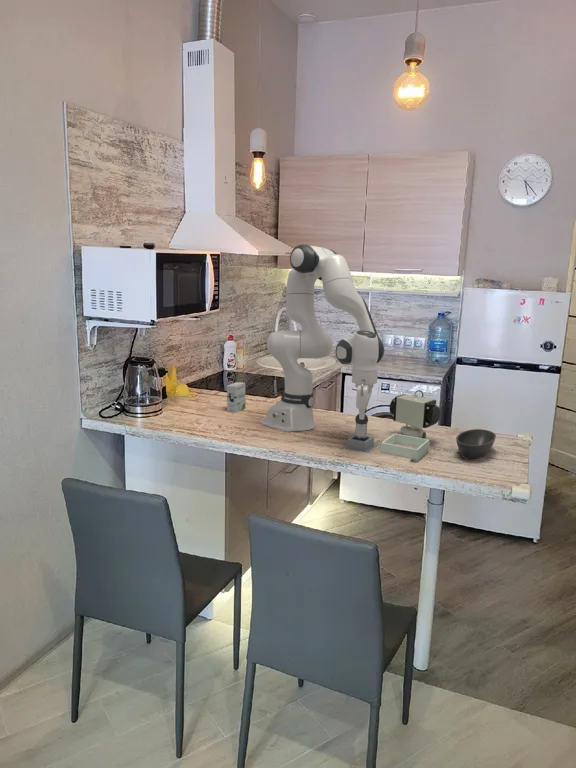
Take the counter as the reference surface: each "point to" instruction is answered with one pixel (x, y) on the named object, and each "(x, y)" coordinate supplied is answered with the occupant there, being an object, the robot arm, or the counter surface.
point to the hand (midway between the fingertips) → (362, 415)
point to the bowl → (475, 443)
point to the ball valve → (414, 414)
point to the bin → (405, 451)
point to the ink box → (236, 397)
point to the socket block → (360, 444)
